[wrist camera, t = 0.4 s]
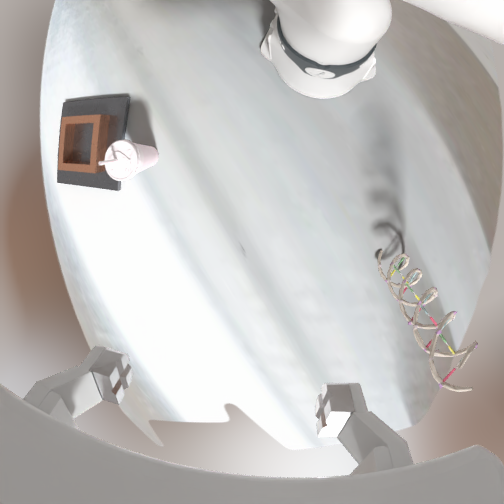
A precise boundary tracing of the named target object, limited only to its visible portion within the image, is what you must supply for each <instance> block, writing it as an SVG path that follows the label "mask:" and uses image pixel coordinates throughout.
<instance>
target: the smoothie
mask: <svg viewBox="0 0 504 504" xmlns="http://www.w3.org/2000/svg"><path fill="white" fill-rule="evenodd" d="M158 158H159V154H158V151H157V149H156V148H154V147H152V146H147V145H142V144H137V143H133V142H131V141H130V140H118V141H116V142H114V143H112V144H111V145H110V146H109V148H108V149H107V151H106V154H105V161H100V162H99V163H98V164H99V165H104V164H105V168H106V171H107V173H108V174H109V176H110V177H111V178H113V179H114V180H117V181H124V180H128V179H131V178H132V177H133V176H134V175H135V174H136V173H138V172H141V171H143V170H145V169H147V168H149V167H151V166H153V165H155V164H156V163H157V161H158Z"/></svg>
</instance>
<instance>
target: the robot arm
mask: <svg viewBox="0 0 504 504" xmlns="http://www.w3.org/2000/svg"><path fill="white" fill-rule="evenodd" d="M270 1H271V2H272V3H273V4H274V5H275V11H274V12H275V13H276V16H275V18H274V20H272V21H271V24H270V28H269V30H268V32H267V35H266V37H265V39H264V41H263V43H262V45H261V54H262V55H263V56H264V57H265V58H266V59H268V60H269V61H270V62H272V63H273V65H274V66H275V68H276V70H277V72H278V74H279V75H280V77H281V78H282V79H283V81H284V82H285V83H286V84H287V85H288V86H290V87H291V88H292V89H294V90H295V91H297V92H299V93H301V94H303V95H306V96H309V97H313V98H321V99H327V98H334V97H338V96H341V95H343V94H345V93H347V92H348V91H350V90H351V89H352V88H353V87H354V86H356V85H357V84H358V83H360V82H363V81H366V80H370V79H372V78H373V77H374V76H375V74H376V66H375V62H376V58H375V57H374V50H375V48H376V44H377V42H378V41H379V39H380V38H381V37H382V36H383V35H384V34H385V32H386V31H387V30H388V28H389V26H390V23H391V18H392V8H391V4H390V1H389V0H270ZM402 1H405V2H407V3H410V4H412V5H414V6H416V7H419V8H421V9H423V10H425V11H427V12H429V13H431V14H433V15H435V16H437V17H439V18H441V19H443V20H445V21H448V22H450V23H453V24H455V25H458V26H460V27H463V28H465V29H467V30H470V31H472V32H475V33H477V34H479V35H482V36H484V37H486V38H488V39H491V40H493V41H495V42H497V43H499V44H502V45H504V0H402ZM268 44H269V45H268ZM129 361H130V359H129V355H128V354H126V353H123V352H120V351H117V350H114V349H110V348H107V347H104V346H101V345H96V346H95V347H94V348H93V349H92V350H91V352H90V353H89V354H88V356H87V357H86V358H85V360H84V361H83V362H82V363H81V365H80V366H79V367H78V366H75V367H73V368H70V369H68V370H65V371H63V372H60V373H58V374H55V375H53V376H51V377H48V378H46V379H43V380H40V381H38V382H36V383H35V385H34V386H33V387H32V388H31V390H30V391H29V392H28V394H27V395H26V396H25V398H24V399H22V398H20V397H19V396H17V395H16V394H14V393H13V392H11V391H10V390H8V389H7V388H5V387H4V386H3V385H1V384H0V504H504V466H503V464H502V462H501V460H500V459H499V458H498V457H497V456H496V455H495V454H493V453H492V452H490V451H489V450H487V449H486V448H484V447H482V446H480V445H474V446H471V447H468V448H465V449H463V450H460V451H457V452H454V453H451V454H448V455H445V456H442V457H439V458H435V459H432V460H428V461H425V462H421V463H417V464H413V461H412V457H411V454H410V451H409V447H408V444H407V442H406V441H405V440H404V439H403V438H402V437H400V436H399V435H398V434H397V433H396V432H395V431H393V430H392V429H391V428H390V427H389V426H387V425H386V424H385V423H384V422H383V421H382V420H380V419H379V418H378V417H377V416H376V415H375V414H374V413H372V412H368V409H367V406H366V403H365V399H364V396H363V392H362V389H361V386H360V384H359V383H324V384H323V386H322V388H321V392H322V393H321V394H320V395H318V398H317V400H316V405H315V414H316V417H317V418H318V419H319V420H318V422H317V433H318V437H337V438H338V439H339V441H340V442H341V443H342V444H343V446H344V447H345V448H346V449H347V450H348V452H349V453H350V454H351V455H352V457H353V458H354V459H355V460H356V461H357V463H358V464H359V465H358V467H357V468H356V469H355V470H354V471H353V472H352V473H351V474H350V475H345V476H333V477H314V478H281V477H262V476H250V475H240V474H232V473H224V472H218V471H212V470H206V469H200V468H195V467H190V466H185V465H181V464H176V463H172V462H168V461H165V460H161V459H157V458H154V457H150V456H147V455H143V454H140V453H137V452H134V451H131V450H128V449H125V448H122V447H119V446H117V445H114V444H111V443H109V442H106V441H104V440H101V439H99V438H96V437H94V436H92V435H89V434H87V433H85V432H82V431H80V430H79V428H78V426H77V424H76V422H75V421H74V418H75V417H77V416H79V415H80V414H82V413H83V412H85V411H87V410H88V409H90V408H91V407H93V406H95V405H96V404H98V403H99V402H101V401H102V399H103V400H106V401H109V402H112V403H115V404H118V405H119V404H120V402H121V400H122V398H123V397H124V395H125V393H124V389H126V388H128V387H129V385H130V383H131V380H132V368H131V366H130V365H129V364H128V362H129Z"/></svg>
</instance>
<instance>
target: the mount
mask: <svg viewBox="0 0 504 504" xmlns="http://www.w3.org/2000/svg"><path fill="white" fill-rule="evenodd" d="M129 103H130V97H114V98H100V99H89V100H80V101H72V102H64V103H63V109H62V116H61V125H60V135H59V148H58V171H57V183H64V184H72V185H80V186H87V187H95V188H102V189H109V190H116V191H119V190H121V181H117V180H114V179H113V178H111V177H110V176H109V174H108V173H107V171H106V168H105V164H104V165H99V164H98V163H99V162H100V161H105V154H106V151H107V149H108V148H109V146H110V145H111V144H112V143H114V142H116V141H118V140H124V139H125V131H126V123H127V116H128V109H129Z"/></svg>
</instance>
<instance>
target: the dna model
mask: <svg viewBox="0 0 504 504" xmlns="http://www.w3.org/2000/svg"><path fill="white" fill-rule="evenodd" d="M382 253H383V251H382V250H381V251H380V253H379V256H378V269H379V272H380V274H381V277H382V278H383V279H384V280H385V281H386V282H387V283H388V286H389V289H390V292H391V293H392V295H393V296H394V298H395V299H396V300H397V301H398V302H399V305H400V309H401V312H402V313H403V315H404V316H405V318H406V319H407V321H408V325H410V324H412V325H413V331H414V336H415V338H416V340H417V342H418V344H419V346H420V347H421V348H422V349H423V350H424V351H425V352H427V353H429V365H430V368H431V371H432V374H433V377H434V378H435V380H436V381H437V382H438V383H439V386H440V389H441V387H445V388H447V389H449V390H453V391H457V392H463V391H471V390H473V388H472V387H459V386H453V385H450V384H448V383H446V382H445V381H446V379H448V377H449V376H450V375H451V374H452V373H453V372H454V371H455V368H454V369H453V370H452V371H451V372H450V373H449V374H448V375H447V376H446V377H445V378H444V379H443V380H442V379H441V377H440V376H439V374H438V372H437V371H436V369H435V367H434V361H433V356H443V357H454V356H457V355H460V354H463V353H465V355H464V357H463V358H462V359H461V360H460V363H459V365H458V366H457V367H458V369H461V368H462V367H463V365H464V363H465V362H466V360H467V359H468V357H469V355H470V354H471V352H472V351H473V349H474V348H477V345H478V343H477V342H476V341H475V342H474V343H473V344H471V345H470V346H468V347H467V348H464V349H462V350H459V351H456V352H454V351H453V349H452V348H451V347H450V346H449V344H448V343H447V341H446V340H445V338H444V337H443V335H442V334H441V333H442V332H441V330H442V329H443V328H444V326H445V325H446V324H448V323H449V322H450V321H452V320H453V319H454V318H455V315H456V313H457V312H455V311H452V312H450V313H448V314H447V315H446V316H445V317H444V318H443V319H441V323H439V324H437V323H436V322H435V321H434V319H433V318H432V317H430V319H431V320H432V321H433V323H434V324H433V325H423V324H420V323H418V322H417V319H418V314H419V311H420V310H421V308H420V306H421V307H422V309H423V310H424V311H425V313H426V314H428V312H427V311H426V310H425V308H424V306H425V304H426V303H428V302H430V301H432V300H433V299H434V298H435V297H438V294H437V292H438V291H437V288H436V287H432V288H430V289H428V290H426V291H425V292H424V293H423V294H422V297H421V298H420V299H419V298H418V296H417V295H416V294H414V292H413V290H412V289H411V286H412V285H414V284H416V283H417V282H418V281H419V279H420V278H421V277H422V271H421V270H420V269H418V268H416V269H413V270H411V271H410V272H409V273H408V274H407V275H406V277H405V278H404V277H403V276H402V275H401V274H400V275H401V276H402V278H403V279H404V280H403V282H402V284H400V283H398V284H395V283H393V282H390V278H391V276H392V274H393V273H394V272H395V271H397V272H398V273H400V270H402V269H403V268H405V267H406V266H407V265H408V263H409V256H408V255H407V254H401V255H398V256H396V257H395V258H394V259H393V260H392V262H391V264H390V267H389V270H388V273H387V278H386V277H385V275H384V274H383V272H382V269H381V264H380V263H381V256H382ZM402 257H403V258H402ZM400 258H402V259H401V261H400V262H399V264H398V266H399V265H400V263H401V262H402V261H403V260H404V258H406V262H405V264H404V265H403V266H402V267H400V268H399V270H398V269H397V267H395V266H394V264H395V262H396V261H397V260H398V259H400ZM393 267H394V268H395V269H394V270H393V272H392V273H391V271H392V268H393ZM417 272H418V273H419V275H418V277H417V279H416V280H414V281H413V282H412V283H411V281H412V280H413V278H414V276H415V275H416V273H417ZM412 274H414V275H413V276H412V278H411V280H410V281H409V282H408V281H407V280H408V279H409V277H410V276H411V275H412ZM392 286H394V287H398V288H400V290H399V297H398V296H397V295H396V294H395V293H394V291H393V288H392ZM407 287H408V288H409V289H410V290H411V291H412V293H413V294H414V295H415V297H416V298H417V299H418V300H419V301H418V302H414V303H409V302H407V301H405V300H403V299H402V298H403V294H404V292H405V291H406V289H407ZM404 288H405V289H404ZM433 291H434V293H433V294H432V295H431V297H430V298H429V296H430V294H431V293H432V292H433ZM427 295H428V296H427ZM426 296H427V297H426ZM425 298H426V299H425ZM424 299H425V300H424ZM423 300H424V301H423ZM403 304H405V305H408V306H413V307H414V306H416V309H415V312H414V316H413V317H412V319H411V318H410V317H409V316H408V315H407V313H406V311H405V308H404V306H403ZM428 315H429V314H428ZM417 327H419V328H424V329H437V330H436V332H435V334H434V336H433V338H432V340H431V341H430V342H429V343H428V345H427V346H425V344H424V342H423V340H422V338H421V336H420V334H419V332H418V330H417ZM438 335H439V336H440V337H441V338H442V340H443V341H444V342H445V343H446V344H447V345H448V348H449V349H450V350H451V352H440V351H439V349H438V350H436V351H435V348H436V343H437V338H438ZM430 344H431V346H430ZM429 346H430V348H428V347H429Z"/></svg>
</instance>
